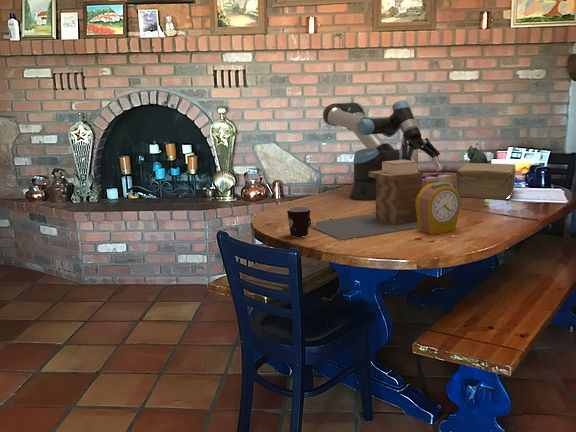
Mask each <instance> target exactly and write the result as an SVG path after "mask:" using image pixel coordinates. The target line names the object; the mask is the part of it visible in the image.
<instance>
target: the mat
mask: <svg viewBox="0 0 576 432" xmlns="http://www.w3.org/2000/svg"><path fill="white" fill-rule="evenodd" d="M311 222H312V223H311V224H310V226H311V227H313V228H315V229H318V230H320V231H322V232H324V233H327V234H329V235H331V236H333V237H332V238H334V237H336V238H338V239H340V240H339V241H341V240H344V241H346V240H345V239H350V240H354V239H353V238H356V239H361V237H362V238H367V237H373V236H374V237H375V236H379V235H384V234H390V233H397V232H402V231H403V232H404V231H410V230H415V229H418V223H417V222H412V223H406V224H400V225H395V224H392V223H389V222H386V221H384V220H381V219H378V218H376V212H375V213H368V214H360V215H354V216H347V217H340V218H333V219H327V220H320V221H316V222H317V223H315V225H316V226H314V225H313V223H314V222H315V221H311ZM311 227H310V228H311ZM313 228H312V229H313ZM315 229H314V230H315ZM318 230H317V231H318ZM320 231H319V232H320ZM322 232H321V233H322ZM324 233H323V234H324ZM327 234H326V235H327ZM329 235H328V236H329ZM331 236H330V237H331ZM336 238H335V239H336ZM338 239H337V240H338Z"/></svg>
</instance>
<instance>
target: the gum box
mask: <svg viewBox="0 0 576 432" xmlns="http://www.w3.org/2000/svg"><path fill="white" fill-rule="evenodd" d="M437 182H443V183H448V184H450V187H452V188H454V189H455V175H454V174H452V175H449V174H446V173H443V172H442V173H434V174H428V175H423V178H422V188H423V187H424V186H426V185H428V184H431V183H437Z"/></svg>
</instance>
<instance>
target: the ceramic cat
mask: <svg viewBox="0 0 576 432" xmlns="http://www.w3.org/2000/svg"><path fill="white" fill-rule="evenodd" d="M475 146H477V147H479V143H476V144H475ZM477 147H473V146H472V145H470V146H469V148H468V149H467V153H466V155H467V158H468V159H469V162H468V163H486V164H489V163H488V160H489V159H488V157H487V155H486V153H485V151H483V150H481V149H480V150H479V148H477Z"/></svg>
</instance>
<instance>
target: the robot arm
mask: <svg viewBox="0 0 576 432" xmlns="http://www.w3.org/2000/svg"><path fill="white" fill-rule="evenodd" d="M392 111H393V112H392V114H391V115H390V116H389V117H376V118H372V117H368V116H366V109H365V108H364V106H363V105H362V104H361V103H358V102H342V103H341V102H338V103H336V102H335V103H331V104H329V105H327V106H326V107H325V108H324V110H323V113H322V119H323V121H324V122H325V124H326V125H329V126H332V127H338V126H339V127H343V128H346V130H348V131H350V132H351V131H352V132H353V134H354V135H355V136H356V138H358V140H359V141H360V142H361V144H363V146H365V148H363V149H362V148H361V149H358V150H356V151H355V152H354V153H353V161H352V162H353V183H352V186H351V189H350V192H349V198H350V199H353V200H358V201H374V200H375V201H376V178H372V177H368V172H369V171H379V170H382V162H384V161H394V160H410V161H413V159H411V156H412V153H413V150H416V149H418V151H419V150H420V151H423V152H424V153H426V155H427V156H429V157H431V161H432V163H433V166H434V168H435V171H436V172H439V171H441V170H442V167H441V164H440V163H441V162H440V160H439V156H440V155H441V153H440V151H438V150H437V148H436V147H435V146H434V145H433V144H432V143H431V141H430V140H429V138H428V137H425V139H423V138H422V132H421V130H420V129H419V127H418V123H417V121H416V119H415V116H414V114H413V112H412V109H411V106H410V105H409V103H408V101H407V100H406V99H404V100H403V99H402V100H401V99H400V100H397V101H396V102H394V103H393V104H392ZM399 130H401V133H402V137H403V136H404V138H405V140H404V141H403V142H402V141H401V144H402V146H403V148H402V150H400V148H394V147H393V146H392V145H391V144H390V143H388V142H384V140H383V139H382V138H381V137H380V135H383V136H384V137H386V138H392V137H393V136H394V135H396V134H397V133H398V131H399ZM403 134H404V135H403ZM408 145H409V146H410V147H409V151H408V154H407V149H408ZM417 172H419V171H418V169H417Z"/></svg>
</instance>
